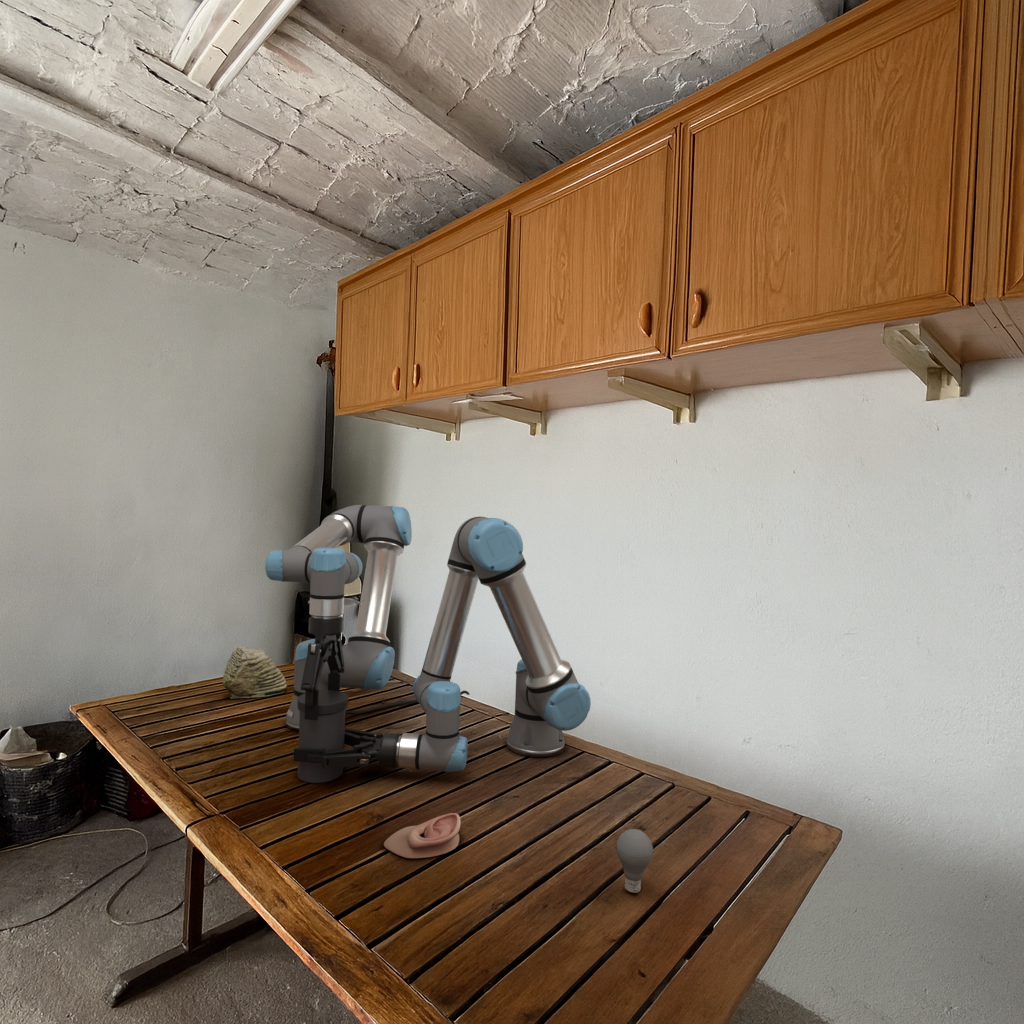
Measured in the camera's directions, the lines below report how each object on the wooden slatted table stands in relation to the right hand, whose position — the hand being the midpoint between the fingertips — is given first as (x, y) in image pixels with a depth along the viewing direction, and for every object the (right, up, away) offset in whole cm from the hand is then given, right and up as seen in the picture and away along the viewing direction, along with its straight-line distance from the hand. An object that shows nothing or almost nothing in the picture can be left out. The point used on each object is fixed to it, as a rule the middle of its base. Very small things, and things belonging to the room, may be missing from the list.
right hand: (302, 745), depth 145 cm
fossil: (-33, -4, +53) cm, 62 cm away
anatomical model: (+31, -8, -28) cm, 42 cm away
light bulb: (+68, -10, -39) cm, 79 cm away
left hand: (+5, +8, 0) cm, 9 cm away
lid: (+5, +11, 0) cm, 12 cm away
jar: (+4, -6, 0) cm, 8 cm away
